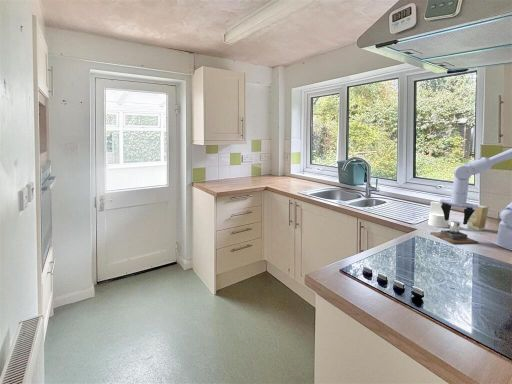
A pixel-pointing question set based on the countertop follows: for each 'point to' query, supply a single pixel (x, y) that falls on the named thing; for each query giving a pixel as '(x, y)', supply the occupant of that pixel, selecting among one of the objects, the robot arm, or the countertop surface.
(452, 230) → the clear glass cylinder
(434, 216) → the cylinder with rectangular tab
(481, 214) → the skincare box
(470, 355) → the countertop surface
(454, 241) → the dock
